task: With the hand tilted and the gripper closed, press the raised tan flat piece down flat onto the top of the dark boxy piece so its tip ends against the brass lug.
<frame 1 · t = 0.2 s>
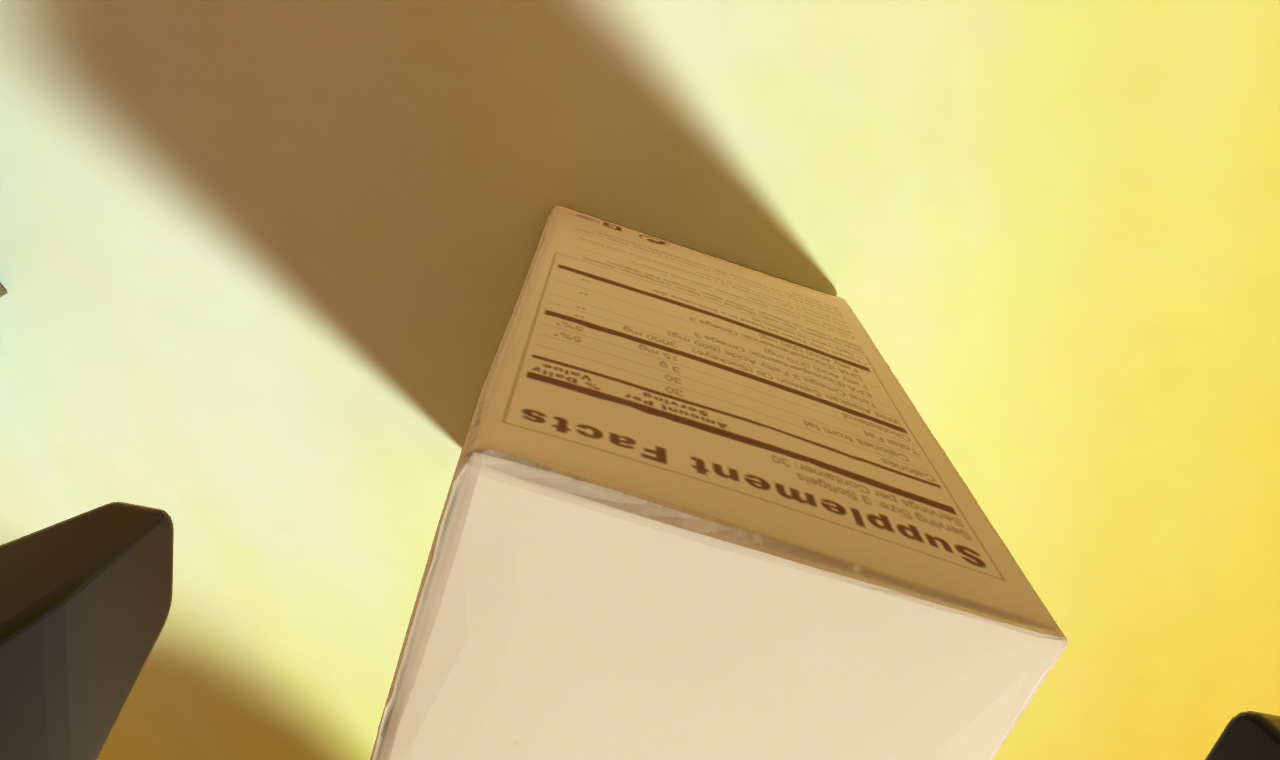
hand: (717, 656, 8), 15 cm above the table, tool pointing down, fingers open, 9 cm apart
supplement box: (654, 378, 23), on the table
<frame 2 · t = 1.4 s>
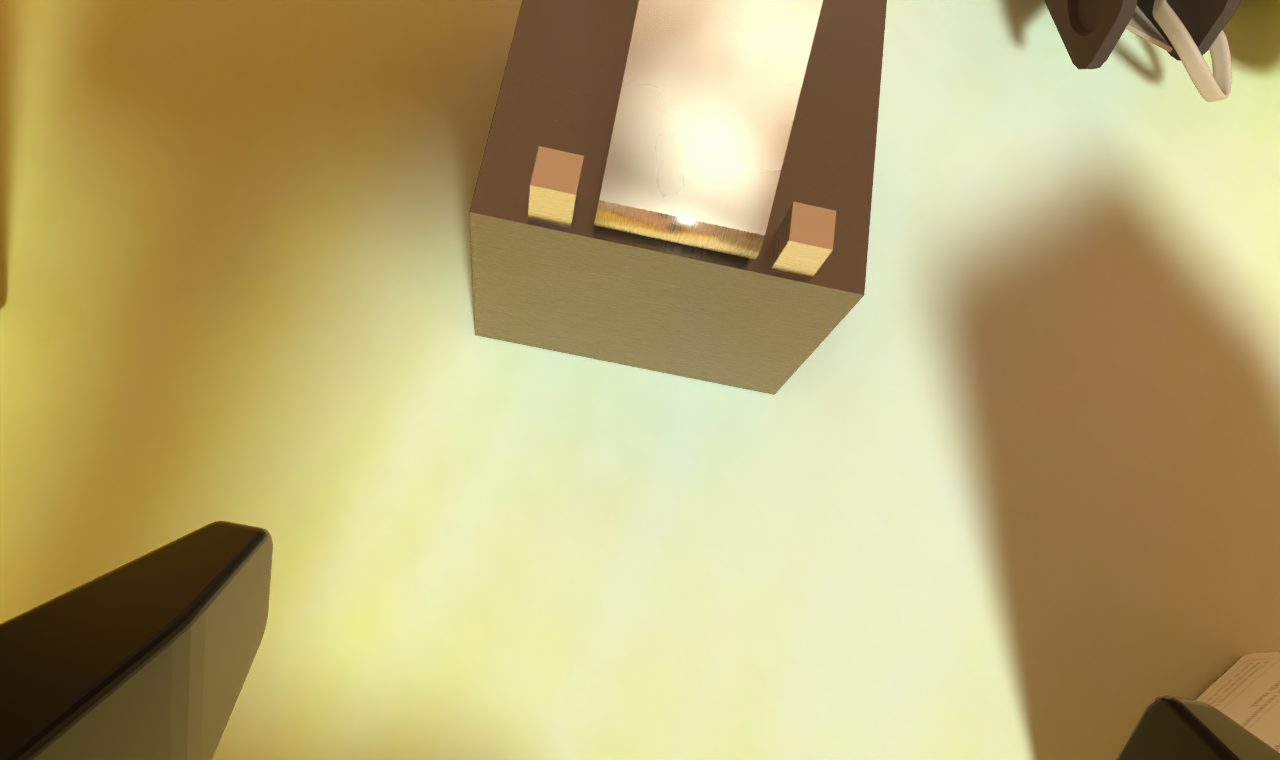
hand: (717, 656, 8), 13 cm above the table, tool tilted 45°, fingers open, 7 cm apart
tan flat piece: (722, 28, 16), point 8 cm above the table, hinge at 35.0°
dark boxy piece: (653, 207, 24), on the table
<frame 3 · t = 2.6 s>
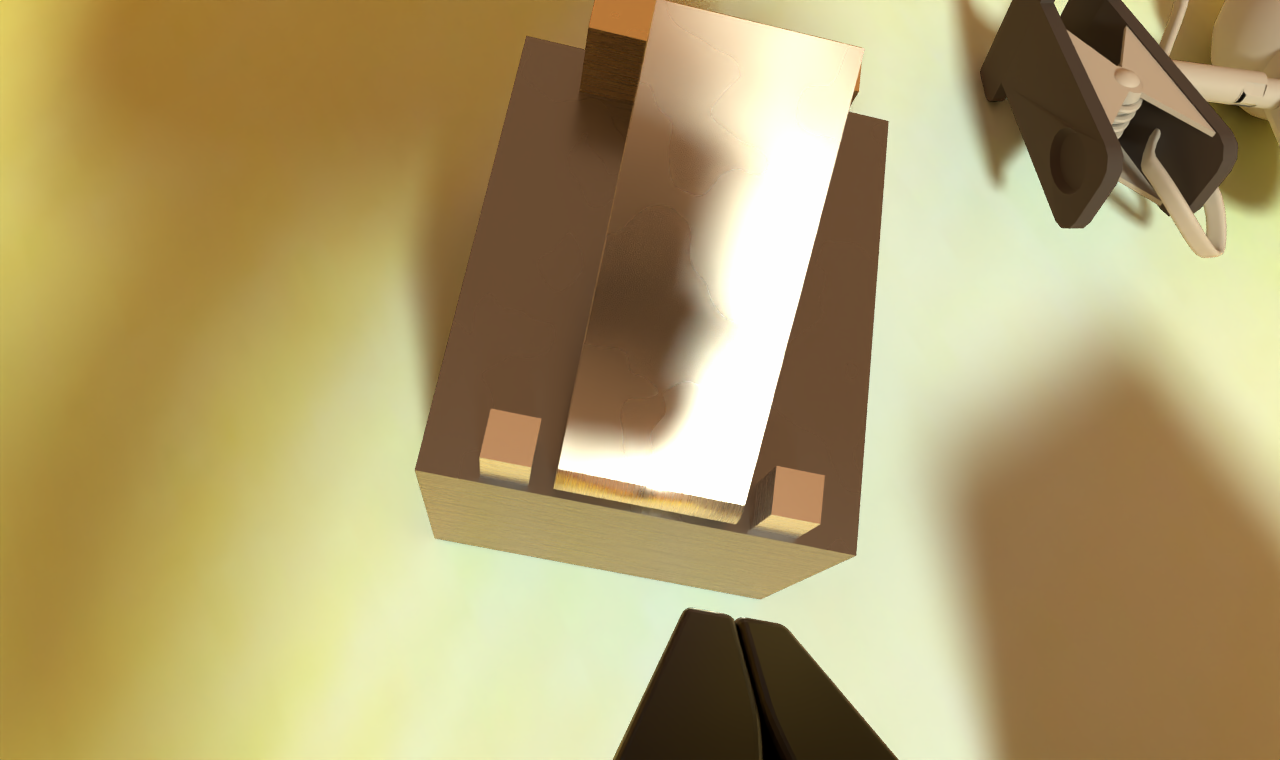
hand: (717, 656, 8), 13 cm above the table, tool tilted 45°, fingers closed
clip-on lamp: (1142, 55, 30), on the table
tan flat piece: (696, 280, 14), point 8 cm above the table, hinge at 35.0°
dark boxy piece: (632, 385, 23), on the table
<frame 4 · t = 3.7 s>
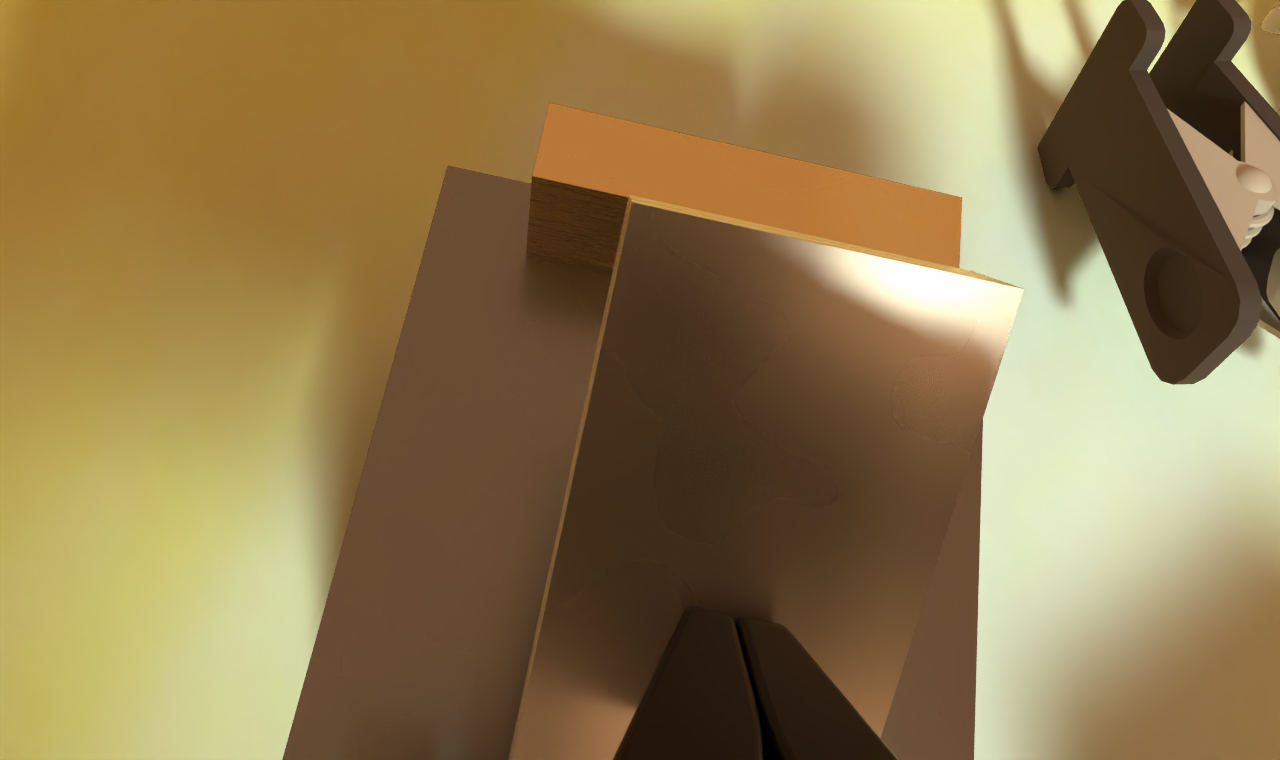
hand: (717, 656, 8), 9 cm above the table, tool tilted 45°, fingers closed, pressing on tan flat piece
clip-on lamp: (1239, 123, 23), on the table
tan flat piece: (706, 659, 8), point 8 cm above the table, hinge at 34.8°, touching gripper
dark boxy piece: (612, 612, 17), on the table
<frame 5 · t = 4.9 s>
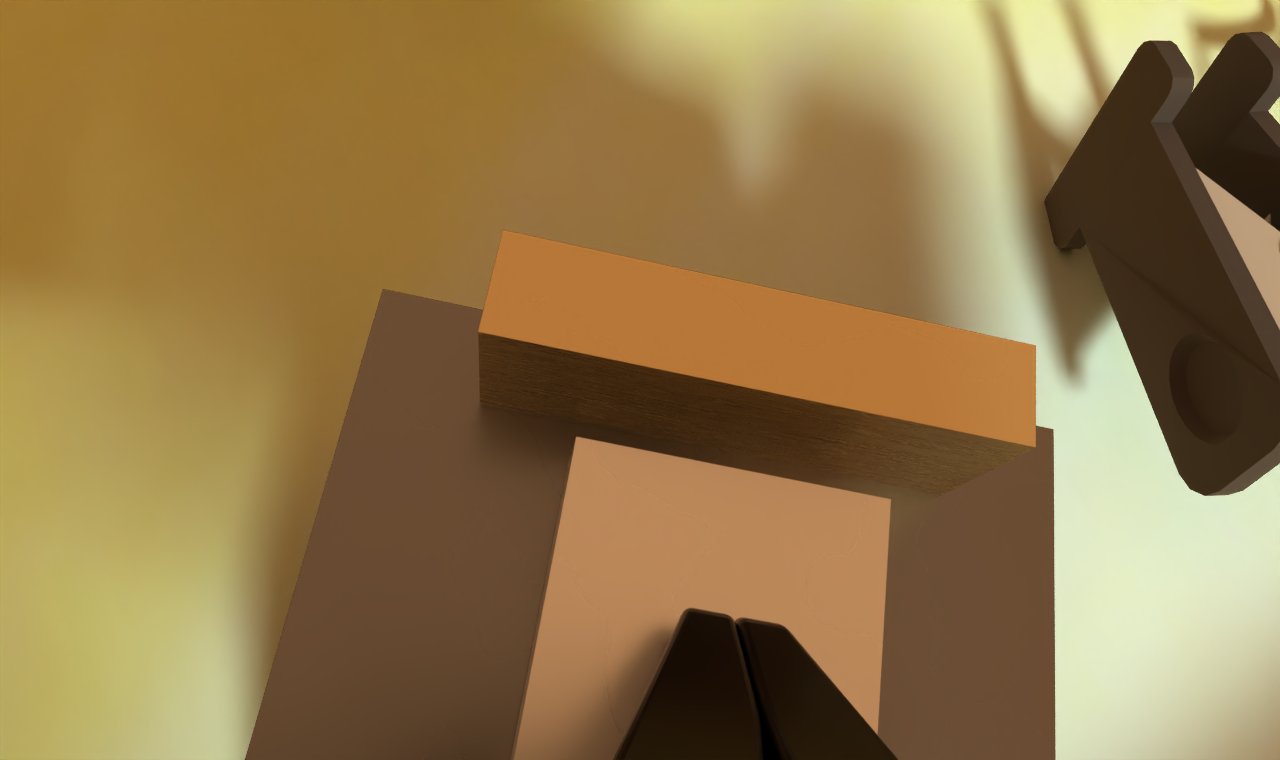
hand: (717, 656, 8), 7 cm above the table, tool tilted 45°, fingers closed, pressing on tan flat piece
clip-on lamp: (1269, 172, 21), on the table
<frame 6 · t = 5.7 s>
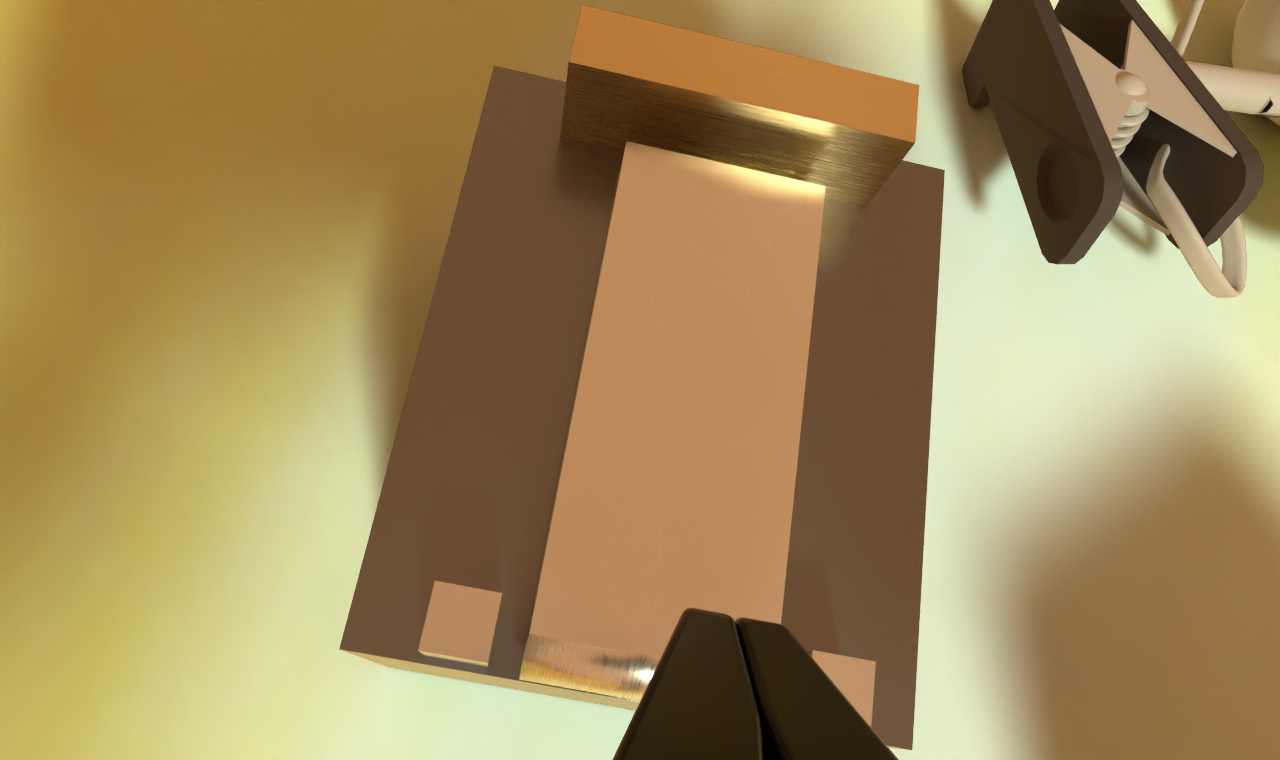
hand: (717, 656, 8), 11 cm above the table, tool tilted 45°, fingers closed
clip-on lamp: (1151, 53, 26), on the table
tan flat piece: (684, 414, 13), point 7 cm above the table, hinge at -0.8°, touching dark boxy piece
dark boxy piece: (627, 472, 19), on the table
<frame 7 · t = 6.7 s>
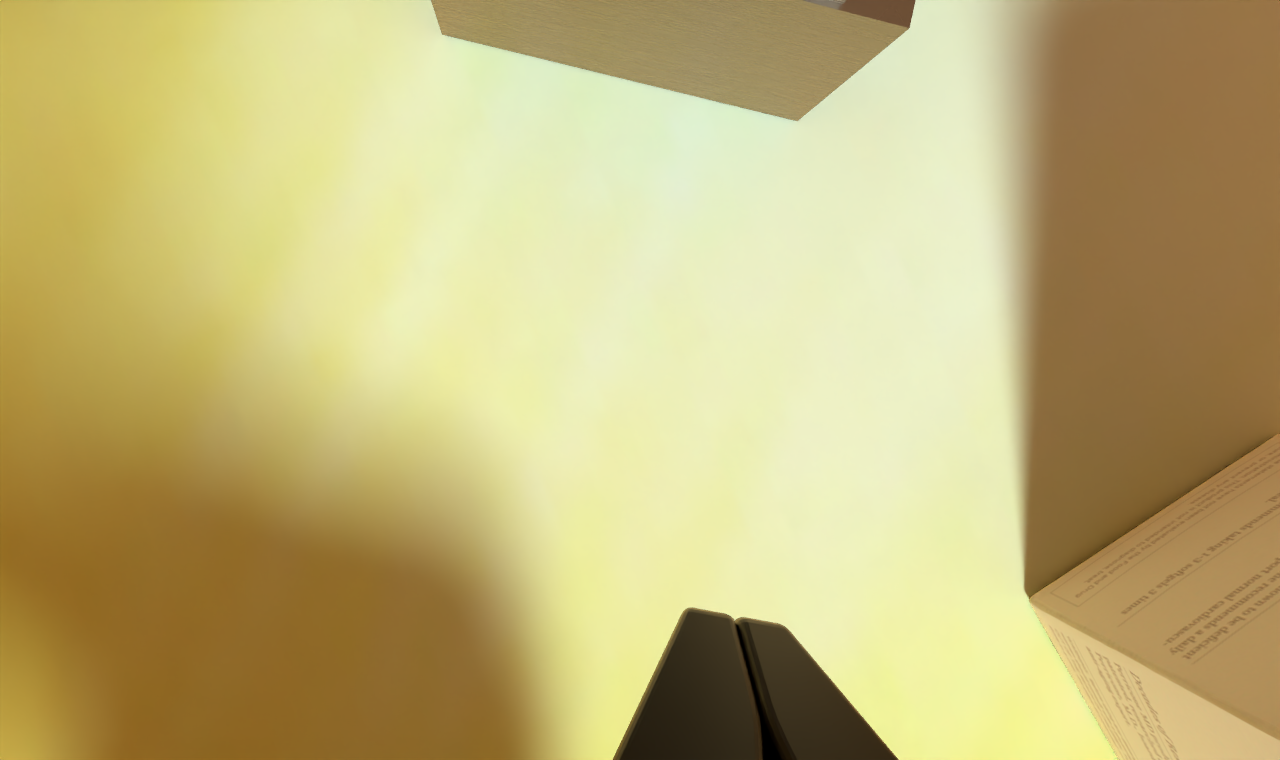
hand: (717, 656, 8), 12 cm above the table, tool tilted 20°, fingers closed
supplement box: (1219, 639, 22), on the table
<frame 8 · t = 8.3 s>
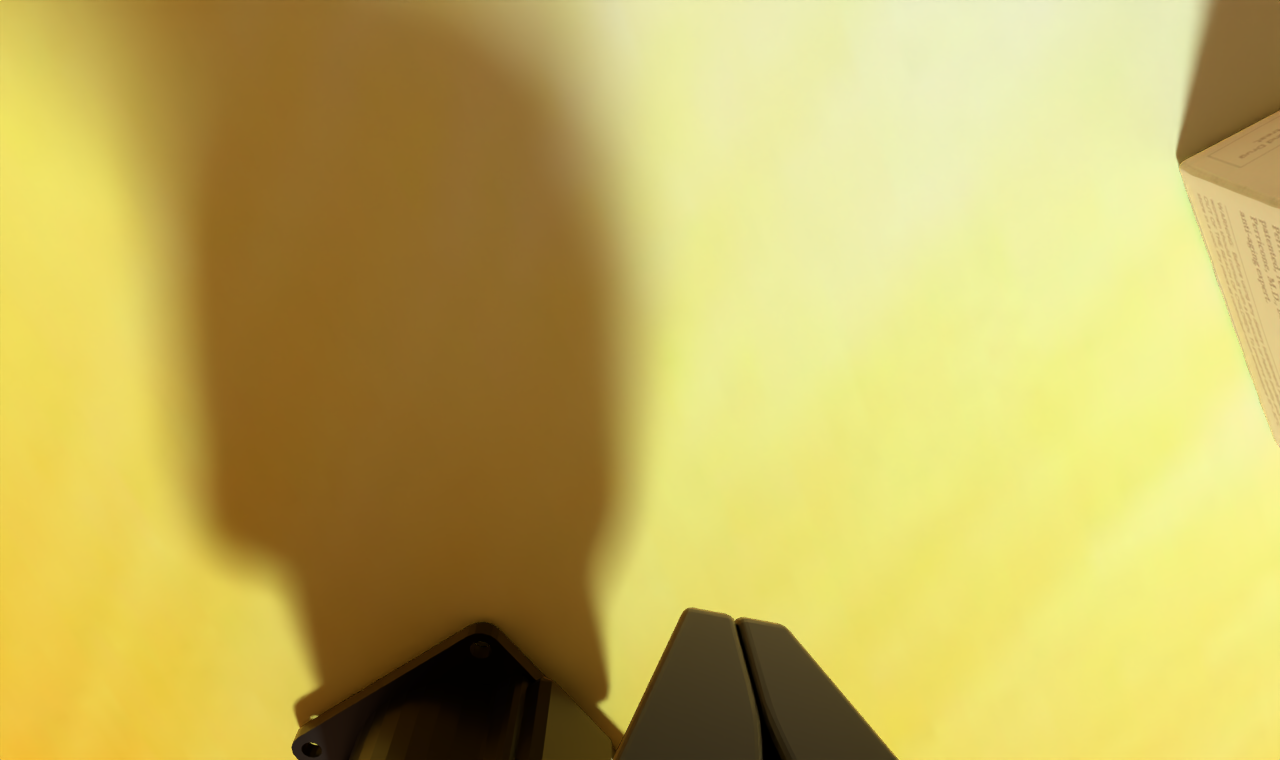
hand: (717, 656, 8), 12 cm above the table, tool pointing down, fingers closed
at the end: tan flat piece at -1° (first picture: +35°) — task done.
